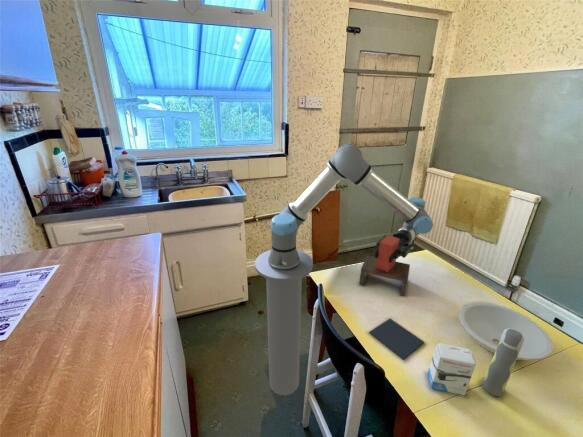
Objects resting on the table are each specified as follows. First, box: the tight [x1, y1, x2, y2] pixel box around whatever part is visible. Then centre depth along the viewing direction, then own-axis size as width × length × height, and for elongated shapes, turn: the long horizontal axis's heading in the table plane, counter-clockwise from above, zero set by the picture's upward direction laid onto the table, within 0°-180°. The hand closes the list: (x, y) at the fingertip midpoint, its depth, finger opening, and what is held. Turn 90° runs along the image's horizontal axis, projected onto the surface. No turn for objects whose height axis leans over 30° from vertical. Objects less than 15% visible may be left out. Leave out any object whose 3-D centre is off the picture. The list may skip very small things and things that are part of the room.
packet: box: [376, 235, 400, 272], centre depth 116 cm, size 5×8×12 cm, turn 141°
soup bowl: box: [458, 301, 554, 361], centre depth 91 cm, size 24×24×7 cm
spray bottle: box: [481, 328, 524, 397], centre depth 73 cm, size 5×5×20 cm
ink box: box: [427, 342, 477, 396], centre depth 76 cm, size 8×5×12 cm, turn 76°
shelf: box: [358, 255, 411, 297], centre depth 120 cm, size 18×12×8 cm, turn 66°
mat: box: [369, 318, 425, 361], centre depth 93 cm, size 13×11×1 cm
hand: (382, 257), depth 112 cm, fingers closed on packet, 5 cm apart
